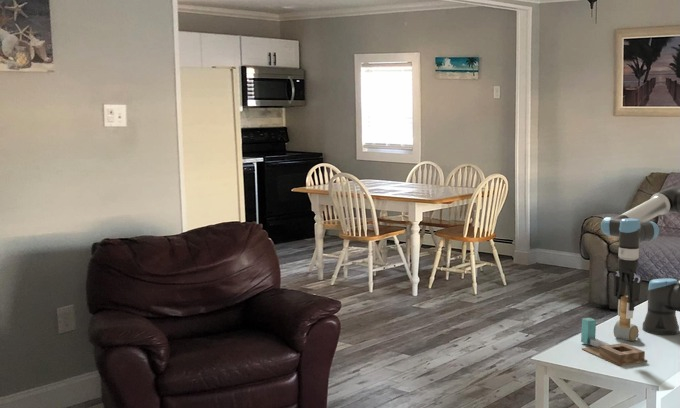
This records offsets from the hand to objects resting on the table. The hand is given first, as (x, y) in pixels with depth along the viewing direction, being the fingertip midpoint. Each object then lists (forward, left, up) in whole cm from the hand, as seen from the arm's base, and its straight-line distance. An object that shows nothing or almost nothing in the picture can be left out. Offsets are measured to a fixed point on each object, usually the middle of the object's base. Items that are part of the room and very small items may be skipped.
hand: (625, 316), depth 319 cm
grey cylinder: (-20, -21, -17) cm, 34 cm away
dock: (+1, -5, -17) cm, 18 cm away
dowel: (0, 0, -4) cm, 4 cm away
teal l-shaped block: (+1, -14, -16) cm, 22 cm away
